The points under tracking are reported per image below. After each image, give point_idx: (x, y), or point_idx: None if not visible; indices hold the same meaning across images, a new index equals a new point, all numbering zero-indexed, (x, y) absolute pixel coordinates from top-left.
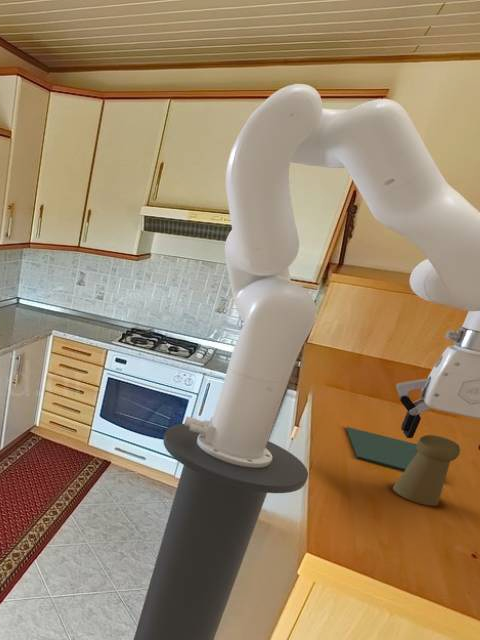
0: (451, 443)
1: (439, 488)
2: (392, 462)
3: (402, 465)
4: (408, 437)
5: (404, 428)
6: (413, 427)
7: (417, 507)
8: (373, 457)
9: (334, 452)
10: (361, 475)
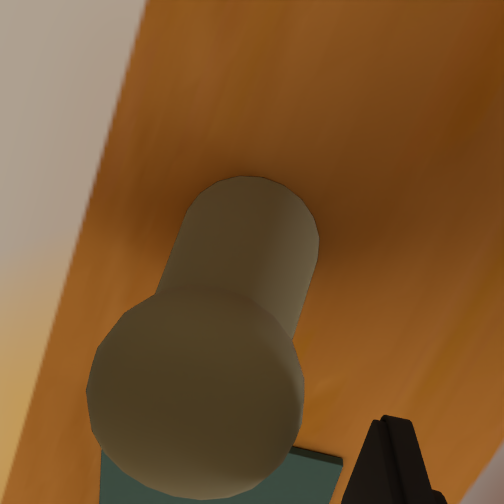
0: (141, 392)
1: (194, 221)
2: None
3: None
4: (400, 419)
5: (441, 500)
6: (423, 497)
7: (284, 133)
8: (285, 476)
9: None
10: (397, 327)
